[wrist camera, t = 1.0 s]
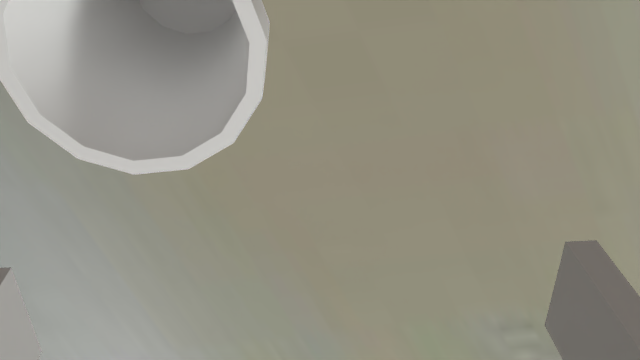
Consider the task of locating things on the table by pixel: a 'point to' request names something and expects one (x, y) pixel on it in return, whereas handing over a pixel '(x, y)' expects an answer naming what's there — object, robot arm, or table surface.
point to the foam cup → (135, 76)
